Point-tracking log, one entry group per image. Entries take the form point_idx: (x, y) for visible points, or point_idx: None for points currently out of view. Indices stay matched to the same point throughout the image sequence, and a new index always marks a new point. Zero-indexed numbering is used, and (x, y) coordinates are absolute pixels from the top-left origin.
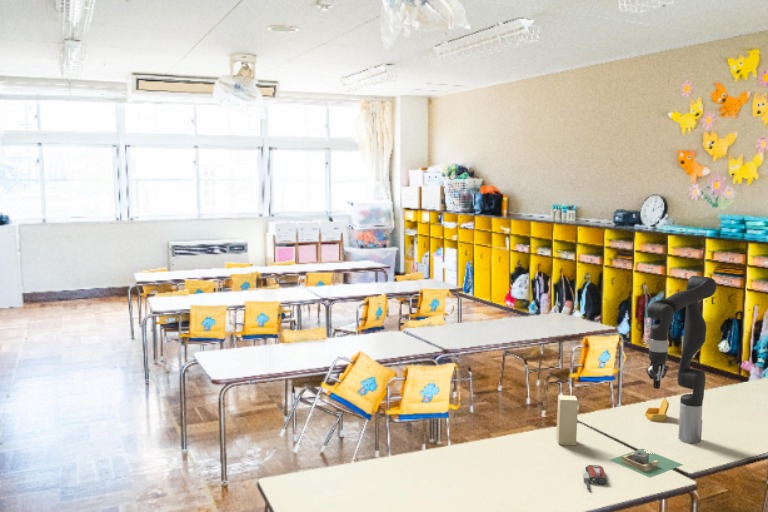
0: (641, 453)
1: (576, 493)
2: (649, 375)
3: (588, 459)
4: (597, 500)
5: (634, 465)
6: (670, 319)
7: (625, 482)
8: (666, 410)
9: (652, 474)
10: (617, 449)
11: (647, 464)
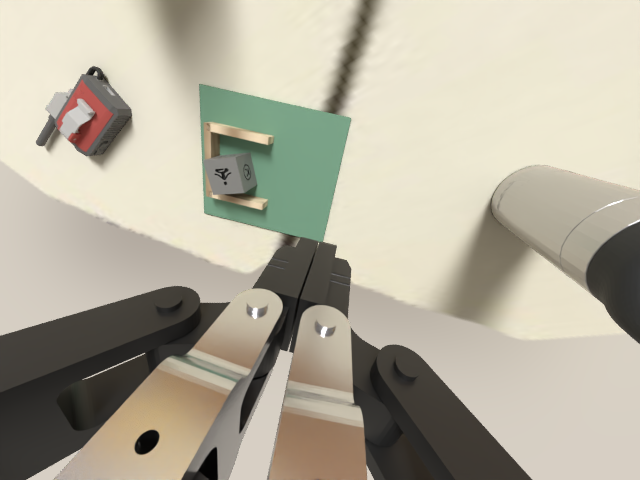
0: (228, 176)
1: (16, 127)
2: (33, 348)
3: (153, 24)
4: (44, 176)
5: None
6: None
7: (145, 182)
8: None
9: (221, 211)
10: (291, 52)
11: (222, 198)
